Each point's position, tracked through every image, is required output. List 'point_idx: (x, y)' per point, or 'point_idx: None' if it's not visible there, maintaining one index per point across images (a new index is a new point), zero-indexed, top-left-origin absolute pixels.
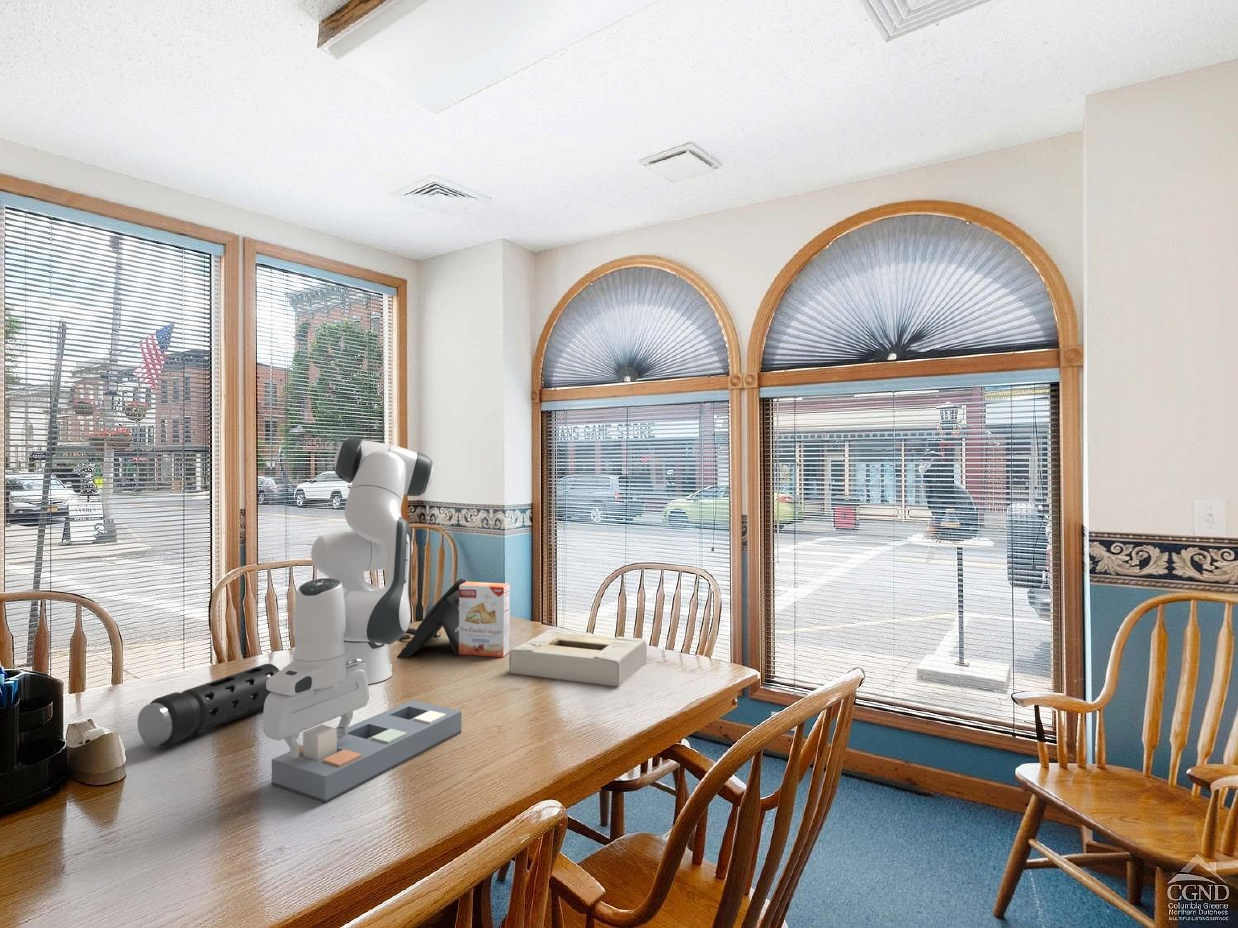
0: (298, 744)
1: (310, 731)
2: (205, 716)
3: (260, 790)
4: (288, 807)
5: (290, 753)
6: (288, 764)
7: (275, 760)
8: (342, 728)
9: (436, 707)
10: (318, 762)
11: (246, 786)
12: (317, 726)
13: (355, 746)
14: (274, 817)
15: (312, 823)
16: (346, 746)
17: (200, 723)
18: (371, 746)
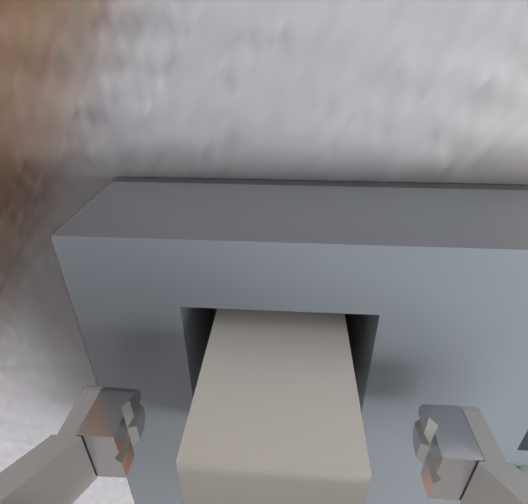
0: (113, 447)
1: (219, 487)
2: None
3: (57, 181)
4: (79, 364)
5: (81, 398)
6: (90, 359)
7: (61, 268)
8: (451, 491)
9: None
10: None
11: (20, 77)
12: (320, 471)
13: (411, 458)
14: (22, 373)
15: None
16: (395, 431)
17: None
18: (435, 501)
